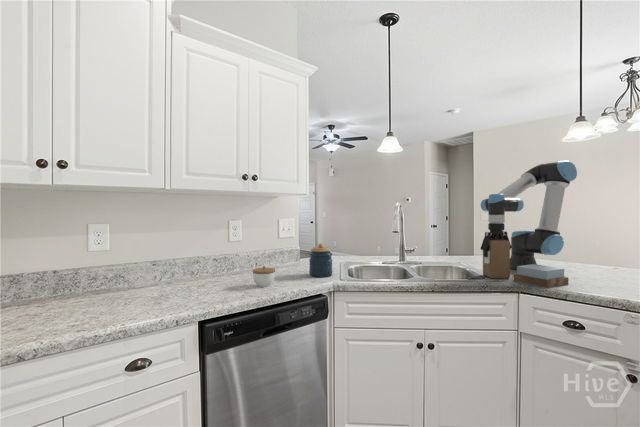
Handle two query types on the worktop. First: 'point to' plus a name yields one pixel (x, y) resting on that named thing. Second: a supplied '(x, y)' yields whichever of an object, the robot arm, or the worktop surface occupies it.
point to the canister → (320, 261)
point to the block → (498, 260)
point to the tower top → (540, 271)
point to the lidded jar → (263, 276)
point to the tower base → (541, 281)
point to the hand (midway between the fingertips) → (496, 262)
